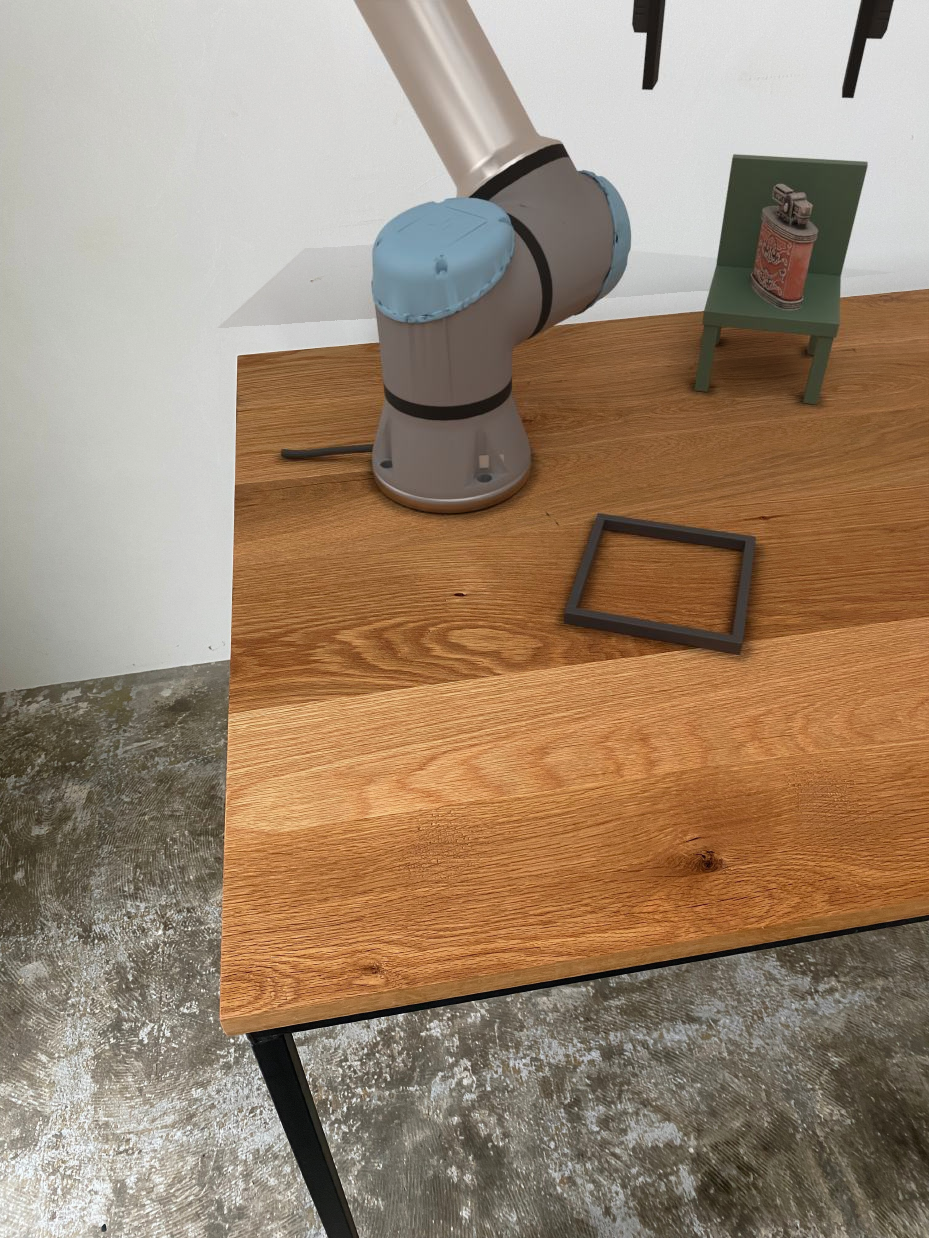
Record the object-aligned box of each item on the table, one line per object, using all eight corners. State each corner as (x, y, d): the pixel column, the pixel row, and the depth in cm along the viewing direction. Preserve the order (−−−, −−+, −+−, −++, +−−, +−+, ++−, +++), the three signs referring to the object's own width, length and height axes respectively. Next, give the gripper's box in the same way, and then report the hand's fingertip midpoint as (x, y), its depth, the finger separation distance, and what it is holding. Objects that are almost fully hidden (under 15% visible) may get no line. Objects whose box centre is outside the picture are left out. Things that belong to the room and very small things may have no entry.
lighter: (809, 308, 94) (832, 204, 87) (778, 312, 93) (799, 208, 86) (771, 276, 99) (791, 177, 93) (742, 280, 99) (759, 181, 92)
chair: (692, 391, 100) (720, 196, 87) (705, 337, 109) (733, 154, 96) (818, 406, 97) (869, 206, 83) (822, 349, 106) (867, 161, 93)
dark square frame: (563, 623, 74) (564, 612, 73) (596, 523, 83) (597, 512, 83) (740, 655, 71) (742, 643, 70) (753, 547, 80) (756, 536, 79)
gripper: (576, -330, 52) (561, 95, 66) (1073, -363, 46) (939, 111, 60) (602, -323, 57) (583, 69, 72) (1051, -352, 51) (932, 82, 66)
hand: (746, 89), depth 66 cm, fingers open, 13 cm apart
